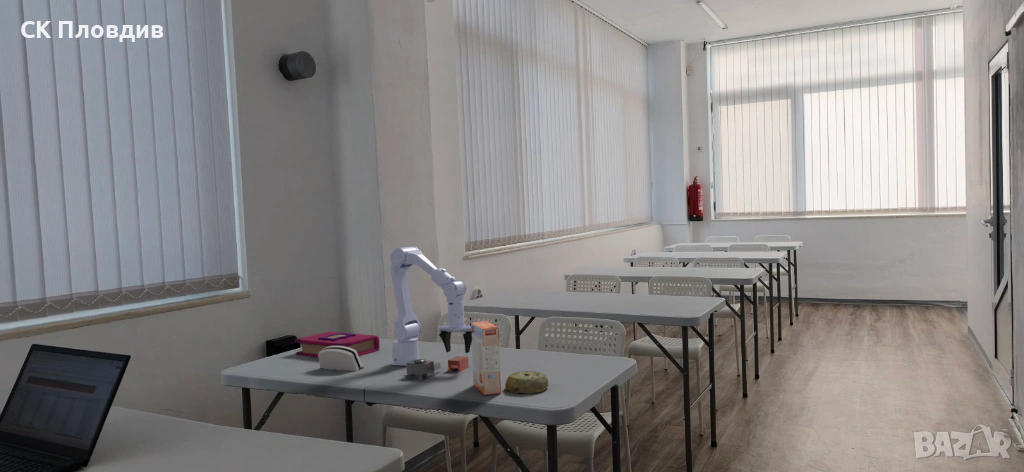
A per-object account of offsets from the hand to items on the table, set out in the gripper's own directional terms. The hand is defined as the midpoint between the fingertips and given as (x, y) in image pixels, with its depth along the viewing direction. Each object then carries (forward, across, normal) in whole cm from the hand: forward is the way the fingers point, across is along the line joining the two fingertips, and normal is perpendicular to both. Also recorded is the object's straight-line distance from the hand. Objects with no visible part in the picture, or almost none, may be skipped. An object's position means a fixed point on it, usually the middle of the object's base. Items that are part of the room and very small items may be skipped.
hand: (457, 352), depth 251 cm
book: (+7, -64, +16) cm, 66 cm away
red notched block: (+6, 0, 0) cm, 6 cm away
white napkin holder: (+6, -44, -9) cm, 46 cm away
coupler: (+6, -9, -9) cm, 14 cm away
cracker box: (+7, +21, -23) cm, 32 cm away
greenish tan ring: (+7, +33, -19) cm, 39 cm away
